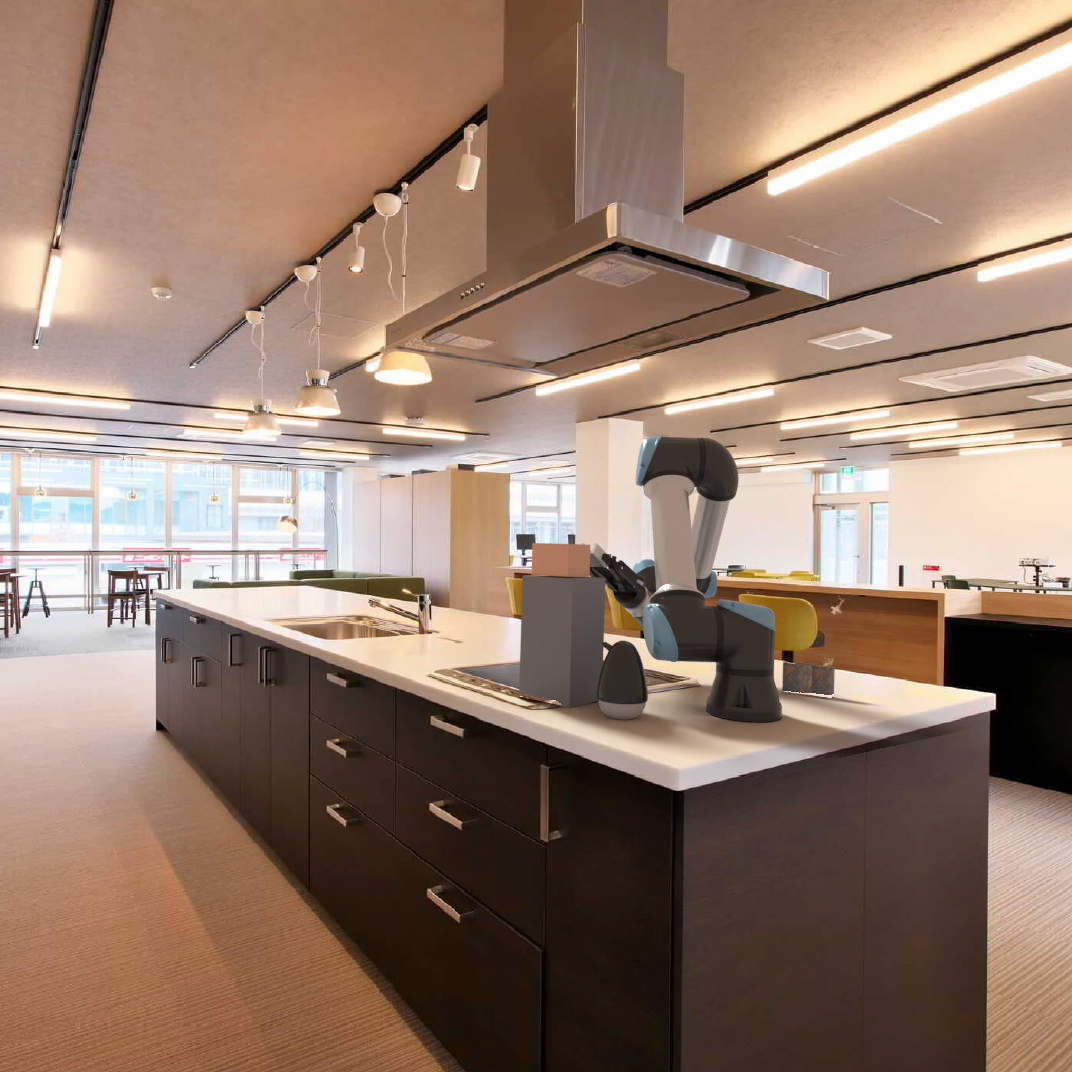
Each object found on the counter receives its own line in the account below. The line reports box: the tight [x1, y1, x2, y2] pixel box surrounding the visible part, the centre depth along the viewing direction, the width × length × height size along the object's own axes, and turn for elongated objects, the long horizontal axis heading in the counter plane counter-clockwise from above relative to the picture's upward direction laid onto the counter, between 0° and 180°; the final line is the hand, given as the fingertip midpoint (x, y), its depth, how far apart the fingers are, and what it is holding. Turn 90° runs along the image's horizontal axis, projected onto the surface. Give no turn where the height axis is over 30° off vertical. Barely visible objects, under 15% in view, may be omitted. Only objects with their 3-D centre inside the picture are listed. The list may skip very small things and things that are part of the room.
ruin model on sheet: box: [781, 656, 836, 695], centre depth 175 cm, size 25×16×10 cm, turn 55°
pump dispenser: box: [597, 640, 649, 720], centre depth 146 cm, size 10×10×15 cm
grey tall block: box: [518, 575, 606, 709], centre depth 162 cm, size 12×14×27 cm
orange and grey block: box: [531, 542, 612, 577], centre depth 166 cm, size 22×10×7 cm, turn 140°
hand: (587, 548), depth 168 cm, fingers closed on orange and grey block, 3 cm apart
